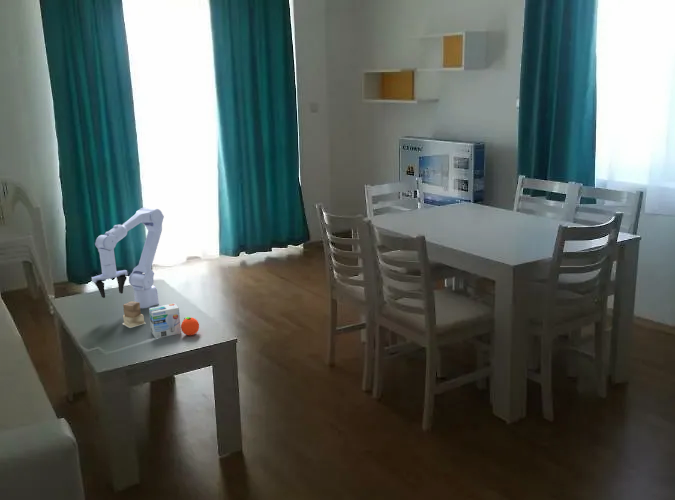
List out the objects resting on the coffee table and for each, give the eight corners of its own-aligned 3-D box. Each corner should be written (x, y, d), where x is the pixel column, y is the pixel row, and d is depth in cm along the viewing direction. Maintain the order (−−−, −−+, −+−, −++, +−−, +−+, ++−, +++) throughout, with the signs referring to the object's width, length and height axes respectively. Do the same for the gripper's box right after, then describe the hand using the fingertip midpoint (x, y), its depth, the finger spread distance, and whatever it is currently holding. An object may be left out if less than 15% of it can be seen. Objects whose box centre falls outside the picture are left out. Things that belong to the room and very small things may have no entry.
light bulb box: (154, 339, 254) (151, 312, 252) (150, 333, 260) (147, 307, 257) (182, 333, 259) (179, 307, 256) (177, 328, 265) (175, 302, 262)
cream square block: (137, 319, 273) (136, 311, 273) (144, 323, 269) (143, 315, 268) (124, 323, 270) (123, 315, 269) (130, 327, 265) (129, 319, 264)
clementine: (177, 334, 258) (175, 317, 256) (192, 329, 263) (190, 312, 261) (188, 339, 252) (186, 322, 251) (203, 334, 257) (201, 317, 255)
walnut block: (132, 312, 271) (130, 301, 270) (140, 314, 270) (139, 302, 268) (124, 316, 268) (123, 304, 266) (133, 317, 266) (131, 305, 264)
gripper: (120, 258, 280) (124, 289, 283) (87, 265, 271) (91, 297, 274) (128, 261, 275) (131, 292, 278) (93, 268, 266) (98, 300, 269)
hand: (112, 295), depth 276 cm, fingers open, 7 cm apart
